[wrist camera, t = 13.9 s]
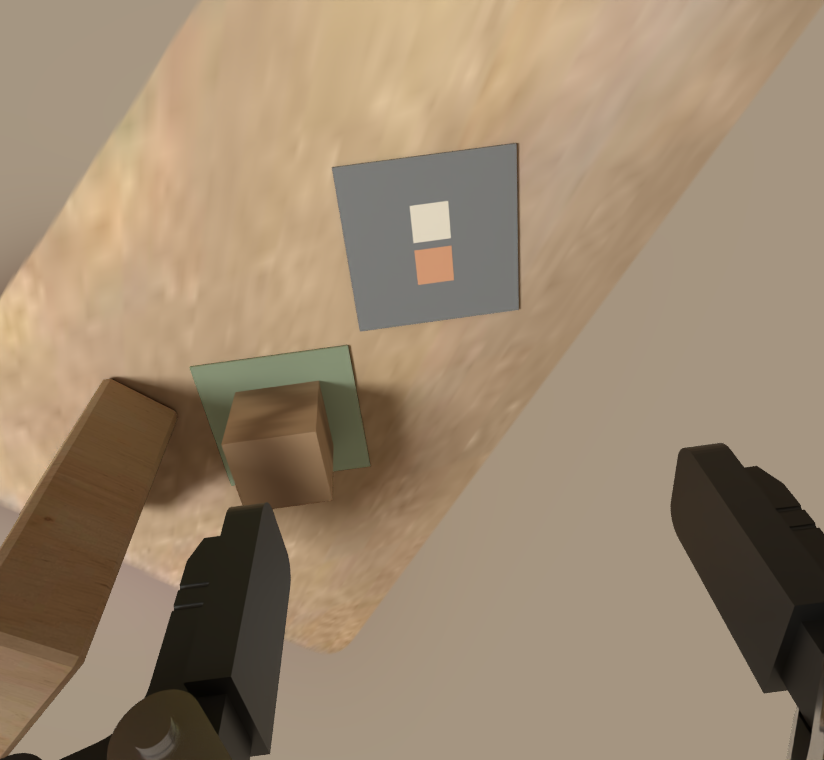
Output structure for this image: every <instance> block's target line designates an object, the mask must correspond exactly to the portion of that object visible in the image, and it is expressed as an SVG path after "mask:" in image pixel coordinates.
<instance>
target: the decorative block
mask: <svg viewBox="0 0 824 760" xmlns="http://www.w3.org/2000/svg"><path fill="white" fill-rule="evenodd" d="M177 418H178V416H177V414H176V411H174V410H172V409H170V408H168V407H166V406H164V405H162V404H160V403H158V402H156V401H154V400H152V399H150V398H148V397H146V396H144V395H142V394H140V393H138V392H136V391H134V390H132V389H130V388H128V387H126V386H124V385H122V384H120V383H118V382H116V381H114V380H112V379H106V380H103V381H102V383H101V385H100V386H99V388H98V389H97V391H96V392H95V394H94V396H93V397H92V399H91V400H90V402H89V403H88V405H87V407H86V408H85V410H84V411H83V413H82V415H81V416H80V418H79V419H78V421H77V422H76V424H75V426H74V427H73V429H72V430H71V432H70V433H69V435H68V437H67V438H66V440H65V441H64V443H63V445H62V446H61V448H60V449H59V451H58V452H57V454H56V456H55V457H54V459H53V460H52V462H51V463H50V465H49V467H48V468H47V470H46V471H45V473H44V474H43V476H42V478H41V479H40V481H39V483H38V484H37V486H36V488H35V489H34V491H33V493H32V494H31V496H30V497H29V499H28V501H27V502H26V504H25V506H24V507H23V509H22V511H21V512H20V514H19V515H20V516H19V518H18V519H17V521H16V523H15V524H14V526H13V528H12V529H11V531H10V533H9V534H8V536H7V537H6V539H5V541H4V542H3V544H2V546H1V548H0V759H2V758H4V757H6V756H8V755H9V753H10V752H11V751H12V750H13V749H14V747H15V746H16V745H17V744H18V743H19V741H20V740H21V739H22V738H23V737H24V735H25V734H26V733H27V732H28V730H29V729H30V728H31V727H32V726H33V724H34V723H35V722H36V721H37V720H38V718H39V717H40V716H41V715H42V713H43V712H44V711H45V709H47V707H48V706H49V705H50V704H51V702H52V701H53V700H54V699H55V697H56V696H57V695H58V694H59V693H60V691H61V690H62V689H63V688H64V686H65V685H66V684H67V683H68V682H69V680H70V679H71V678H72V677H73V675H74V674H75V673H76V672H77V670H78V669H79V668H80V667H81V666H82V664H83V663H84V661H85V658H86V655H87V653H88V650H89V648H90V645H91V642H92V640H93V637H94V635H95V632H96V629H97V627H98V624H99V622H100V619H101V616H102V614H103V611H104V609H105V606H106V603H107V601H108V598H109V595H110V593H111V590H112V588H113V585H114V582H115V580H116V577H117V575H118V572H119V569H120V567H121V564H122V562H123V559H124V556H125V554H126V551H127V548H128V546H129V543H130V541H131V538H132V535H133V533H134V530H135V527H136V525H137V522H138V520H139V517H140V514H141V512H142V509H143V507H144V504H145V501H146V499H147V496H148V494H149V491H150V488H151V486H152V483H153V481H154V478H155V475H156V473H157V470H158V468H159V465H160V462H161V460H162V457H163V454H164V452H165V449H166V447H167V444H168V441H169V439H170V436H171V433H172V431H173V428H174V426H175V423H176V420H177Z"/></svg>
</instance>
